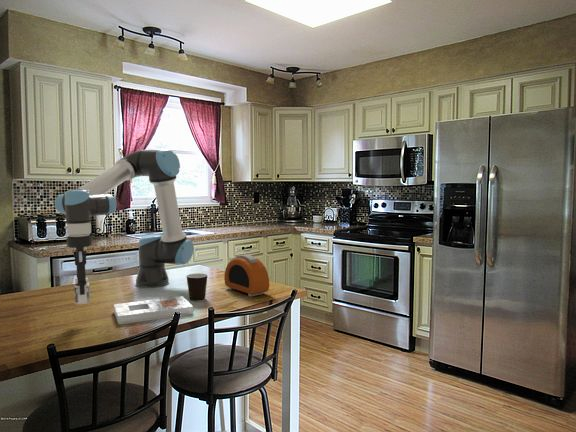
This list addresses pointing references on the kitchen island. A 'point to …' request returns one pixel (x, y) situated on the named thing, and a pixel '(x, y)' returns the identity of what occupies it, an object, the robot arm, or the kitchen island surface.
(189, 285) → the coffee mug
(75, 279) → the pill bottle
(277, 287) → the kitchen island surface
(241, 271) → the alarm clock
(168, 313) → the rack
